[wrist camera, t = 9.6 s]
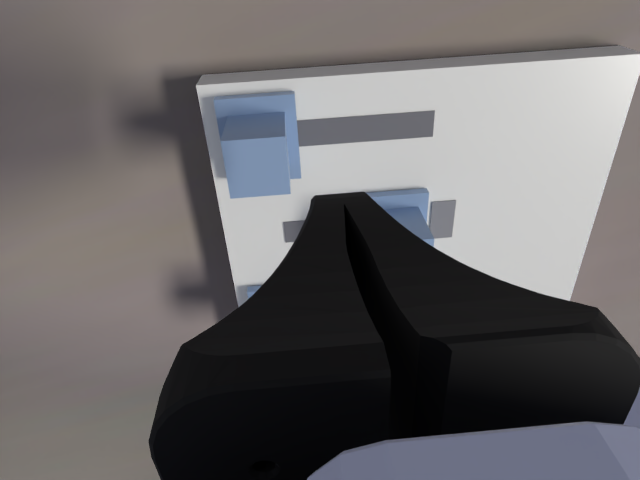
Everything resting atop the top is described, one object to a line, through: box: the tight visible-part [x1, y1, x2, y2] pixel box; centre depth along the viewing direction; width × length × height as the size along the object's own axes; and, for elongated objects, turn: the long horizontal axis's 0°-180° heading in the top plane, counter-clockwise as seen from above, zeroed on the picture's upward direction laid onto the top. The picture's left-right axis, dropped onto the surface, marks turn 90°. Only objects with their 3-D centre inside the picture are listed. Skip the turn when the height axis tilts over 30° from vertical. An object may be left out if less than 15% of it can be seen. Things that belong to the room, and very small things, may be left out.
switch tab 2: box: [366, 188, 434, 247], centre depth 19 cm, size 3×3×3 cm
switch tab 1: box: [213, 91, 301, 199], centre depth 16 cm, size 3×3×3 cm
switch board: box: [196, 45, 640, 307], centre depth 21 cm, size 15×16×2 cm
